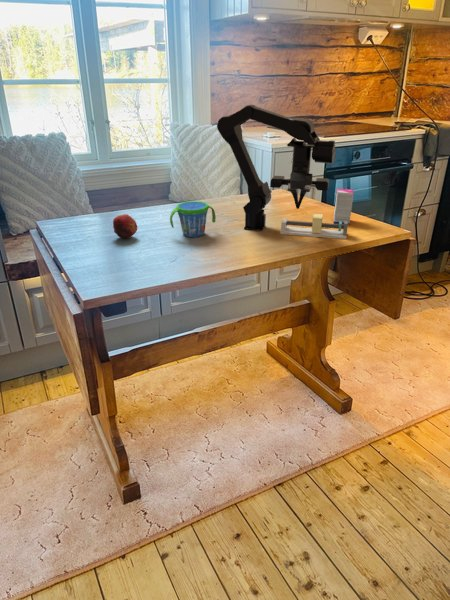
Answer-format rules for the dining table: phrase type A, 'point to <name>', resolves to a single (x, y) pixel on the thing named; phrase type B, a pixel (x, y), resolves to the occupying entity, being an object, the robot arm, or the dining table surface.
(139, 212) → the dining table surface
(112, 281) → the dining table surface
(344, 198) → the supplement box
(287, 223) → the linear slide rail
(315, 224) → the sleeve
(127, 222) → the fruit
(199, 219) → the snack cup
